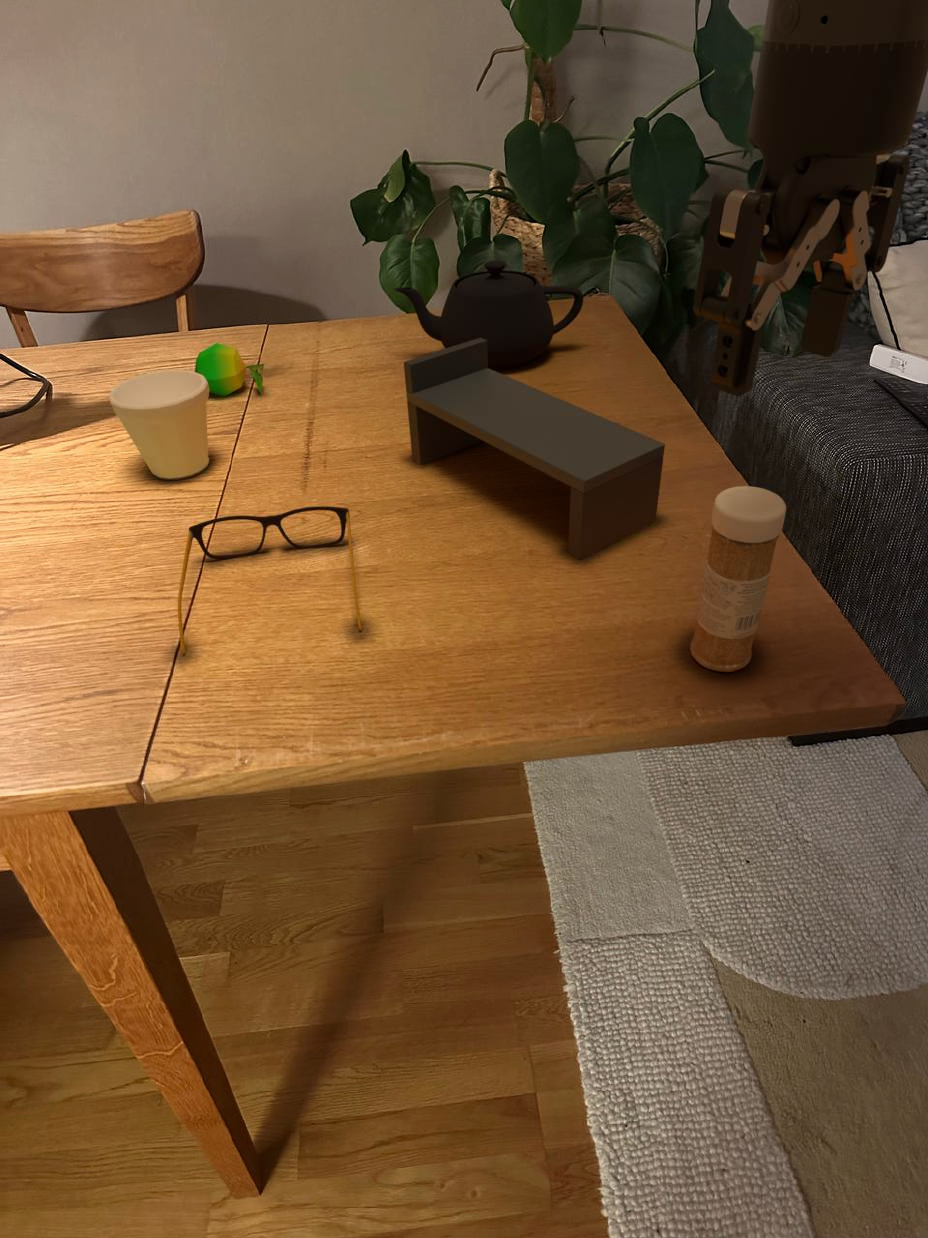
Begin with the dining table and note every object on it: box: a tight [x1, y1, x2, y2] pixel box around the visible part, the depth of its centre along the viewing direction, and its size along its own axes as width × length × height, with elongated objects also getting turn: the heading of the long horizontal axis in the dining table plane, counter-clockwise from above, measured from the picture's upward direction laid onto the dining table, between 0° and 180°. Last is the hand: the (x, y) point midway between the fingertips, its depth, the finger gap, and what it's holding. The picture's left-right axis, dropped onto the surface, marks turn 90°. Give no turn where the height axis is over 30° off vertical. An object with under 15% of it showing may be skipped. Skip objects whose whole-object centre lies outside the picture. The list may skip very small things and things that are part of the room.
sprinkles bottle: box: [689, 485, 787, 673], centre depth 57 cm, size 5×5×14 cm
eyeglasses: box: [177, 505, 362, 654], centre depth 69 cm, size 14×14×4 cm
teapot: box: [393, 259, 584, 370], centre depth 108 cm, size 25×16×12 cm, turn 93°
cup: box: [107, 369, 210, 481], centre depth 86 cm, size 10×10×9 cm
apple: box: [194, 342, 265, 397], centre depth 104 cm, size 7×6×9 cm
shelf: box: [403, 338, 666, 561], centre depth 79 cm, size 26×10×11 cm, turn 38°
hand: (776, 370), depth 47 cm, fingers open, 8 cm apart
